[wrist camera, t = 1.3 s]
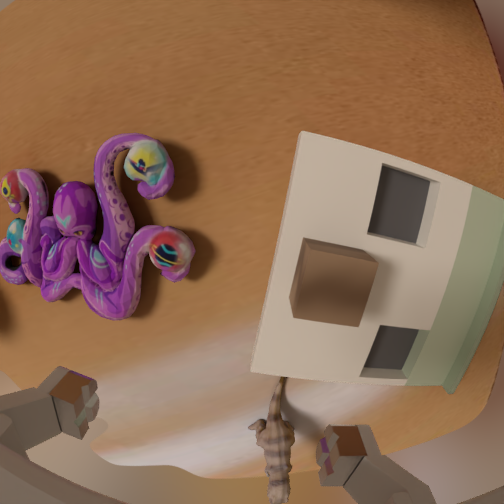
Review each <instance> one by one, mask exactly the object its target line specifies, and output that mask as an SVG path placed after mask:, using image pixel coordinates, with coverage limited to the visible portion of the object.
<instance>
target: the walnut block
mask: <svg viewBox="0 0 504 504" xmlns="http://www.w3.org/2000/svg"><path fill="white" fill-rule="evenodd" d="M378 265H379V262H377V261H376V260H375V259H374V258H373V257H371V256H370V255H369V254H368V253H366V252H365V251H364V250H363V249H358V248H353V247H348V246H343V245H339V244H334V243H329V242H324V241H319V240H314V239H309V238H304V237H303V239H302V244H301V248H300V253H299V257H298V261H297V265H296V270H295V274H294V278H293V282H292V286H291V290H290V294H289V300H290V305H291V310H292V314H293V318H297V319H304V320H310V321H317V322H323V323H330V324H337V325H345V326H352V327H359V325H360V322H361V319H362V316H363V313H364V310H365V307H366V304H367V301H368V298H369V295H370V292H371V288H372V285H373V282H374V279H375V275H376V272H377V269H378Z"/></svg>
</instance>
